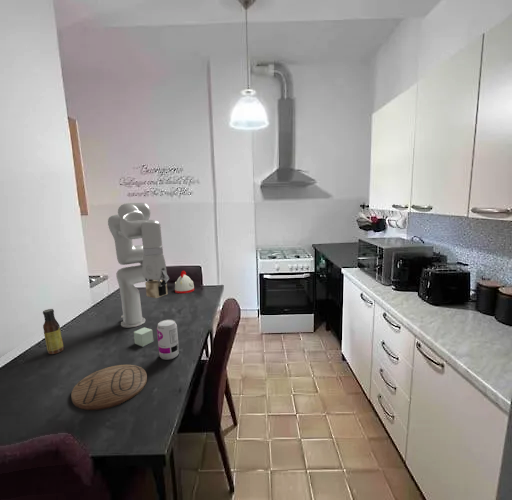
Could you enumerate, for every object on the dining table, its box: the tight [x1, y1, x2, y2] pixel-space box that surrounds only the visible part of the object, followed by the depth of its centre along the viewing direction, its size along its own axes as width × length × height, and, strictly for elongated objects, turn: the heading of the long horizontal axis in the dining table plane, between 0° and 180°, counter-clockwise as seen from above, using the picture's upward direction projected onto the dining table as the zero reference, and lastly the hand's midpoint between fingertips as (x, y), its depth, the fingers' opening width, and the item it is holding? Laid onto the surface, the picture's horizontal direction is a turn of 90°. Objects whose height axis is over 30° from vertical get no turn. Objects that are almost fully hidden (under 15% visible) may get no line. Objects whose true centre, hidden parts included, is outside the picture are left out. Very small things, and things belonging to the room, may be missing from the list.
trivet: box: [70, 364, 148, 411], centre depth 113 cm, size 25×25×2 cm
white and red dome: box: [174, 270, 195, 294], centre depth 227 cm, size 14×14×15 cm
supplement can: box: [156, 319, 180, 361], centre depth 133 cm, size 8×8×15 cm
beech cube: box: [144, 280, 169, 299], centre depth 129 cm, size 6×6×6 cm
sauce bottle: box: [42, 308, 64, 355], centre depth 140 cm, size 7×6×20 cm
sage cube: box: [133, 327, 154, 347], centre depth 147 cm, size 6×6×6 cm
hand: (157, 293), depth 129 cm, fingers closed on beech cube, 6 cm apart
